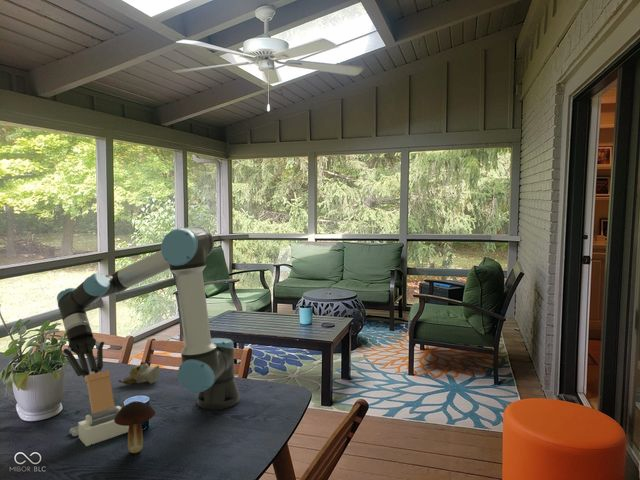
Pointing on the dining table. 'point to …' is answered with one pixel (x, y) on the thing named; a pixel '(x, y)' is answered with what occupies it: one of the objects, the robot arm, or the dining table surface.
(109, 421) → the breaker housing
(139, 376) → the ceramic sculpture
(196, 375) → the robot arm
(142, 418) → the decorative mushroom
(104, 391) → the lever
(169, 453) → the dining table surface
